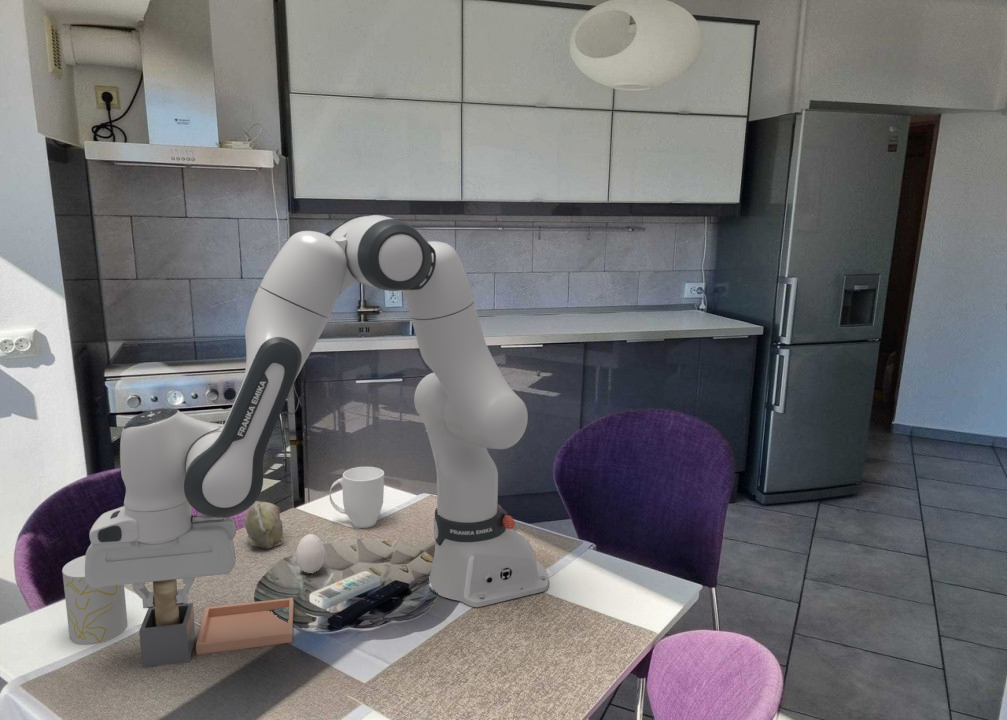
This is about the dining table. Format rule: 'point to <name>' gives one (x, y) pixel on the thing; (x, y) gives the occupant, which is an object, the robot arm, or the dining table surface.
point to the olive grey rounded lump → (264, 525)
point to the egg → (310, 553)
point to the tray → (244, 626)
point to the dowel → (166, 602)
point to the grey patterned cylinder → (92, 607)
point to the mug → (361, 495)
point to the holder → (167, 638)
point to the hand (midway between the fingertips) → (166, 604)
